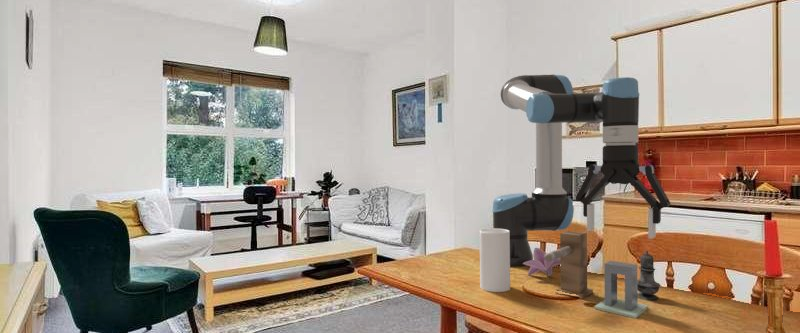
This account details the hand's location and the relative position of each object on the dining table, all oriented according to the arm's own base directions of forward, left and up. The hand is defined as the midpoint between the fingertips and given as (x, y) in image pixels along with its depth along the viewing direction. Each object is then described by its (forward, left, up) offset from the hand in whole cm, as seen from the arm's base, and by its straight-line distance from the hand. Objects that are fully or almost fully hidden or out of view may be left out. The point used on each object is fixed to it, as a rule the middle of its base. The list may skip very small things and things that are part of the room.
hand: (619, 233), depth 101 cm
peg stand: (+2, -13, -18) cm, 22 cm away
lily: (-11, -25, -18) cm, 33 cm away
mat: (0, 0, -18) cm, 18 cm away
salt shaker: (-13, +2, -18) cm, 22 cm away
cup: (+6, -31, -18) cm, 36 cm away
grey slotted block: (0, 0, -17) cm, 17 cm away
